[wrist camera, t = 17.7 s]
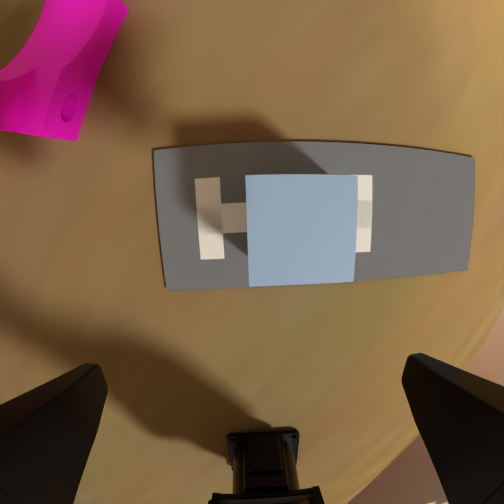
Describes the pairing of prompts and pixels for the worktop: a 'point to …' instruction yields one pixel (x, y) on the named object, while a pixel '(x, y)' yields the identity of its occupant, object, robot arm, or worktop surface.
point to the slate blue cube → (301, 228)
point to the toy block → (58, 68)
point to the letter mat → (314, 162)
